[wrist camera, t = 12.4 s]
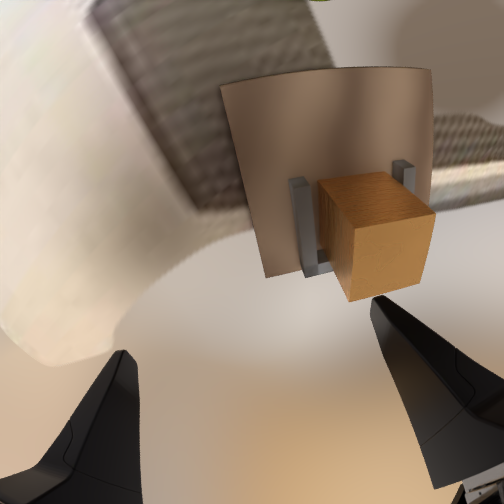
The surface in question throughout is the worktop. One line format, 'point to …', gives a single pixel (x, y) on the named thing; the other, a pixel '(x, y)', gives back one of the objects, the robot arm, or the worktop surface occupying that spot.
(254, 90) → the dock
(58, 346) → the worktop surface
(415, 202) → the block
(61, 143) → the worktop surface
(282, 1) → the worktop surface
